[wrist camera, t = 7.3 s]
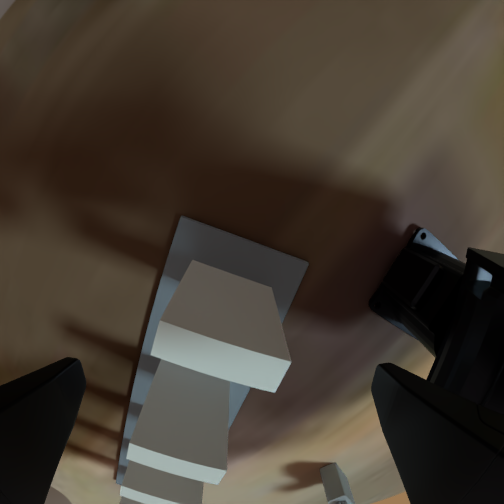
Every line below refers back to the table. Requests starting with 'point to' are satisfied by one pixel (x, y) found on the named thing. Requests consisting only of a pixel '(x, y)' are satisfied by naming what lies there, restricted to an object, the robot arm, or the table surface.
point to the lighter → (336, 485)
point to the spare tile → (224, 329)
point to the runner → (224, 258)
